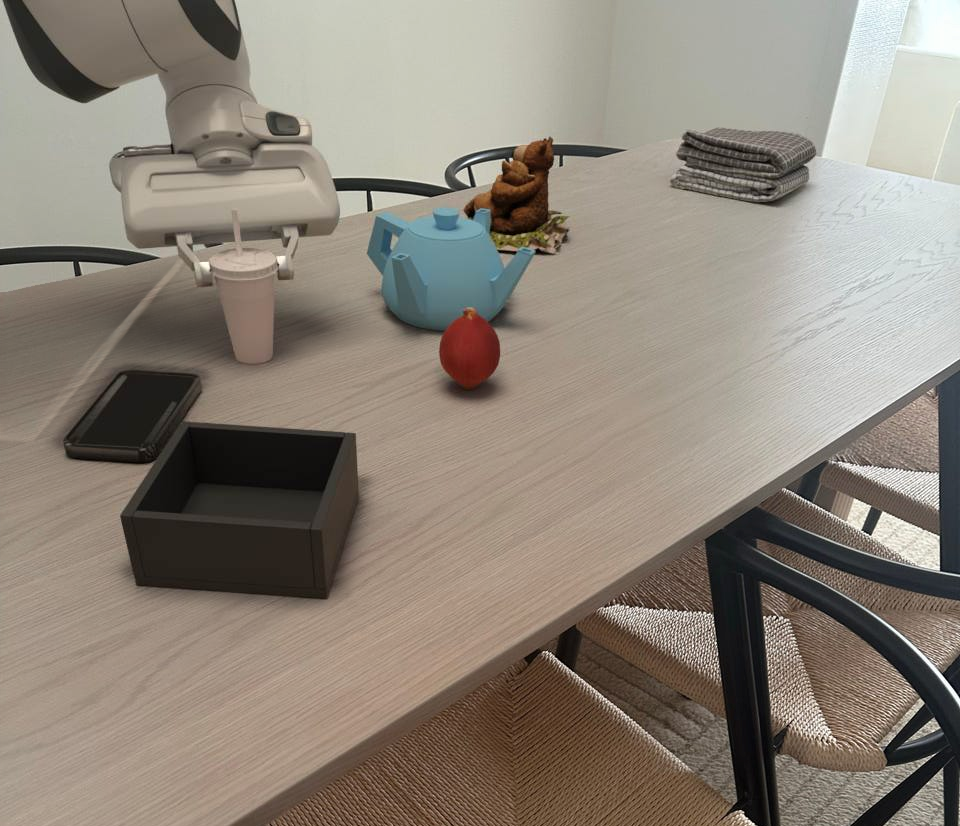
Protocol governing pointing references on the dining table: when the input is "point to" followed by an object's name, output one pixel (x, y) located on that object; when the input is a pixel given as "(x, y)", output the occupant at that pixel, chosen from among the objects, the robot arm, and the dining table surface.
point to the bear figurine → (522, 202)
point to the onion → (469, 349)
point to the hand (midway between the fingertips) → (246, 280)
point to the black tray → (244, 510)
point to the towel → (743, 163)
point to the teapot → (443, 267)
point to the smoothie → (247, 297)
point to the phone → (133, 416)
